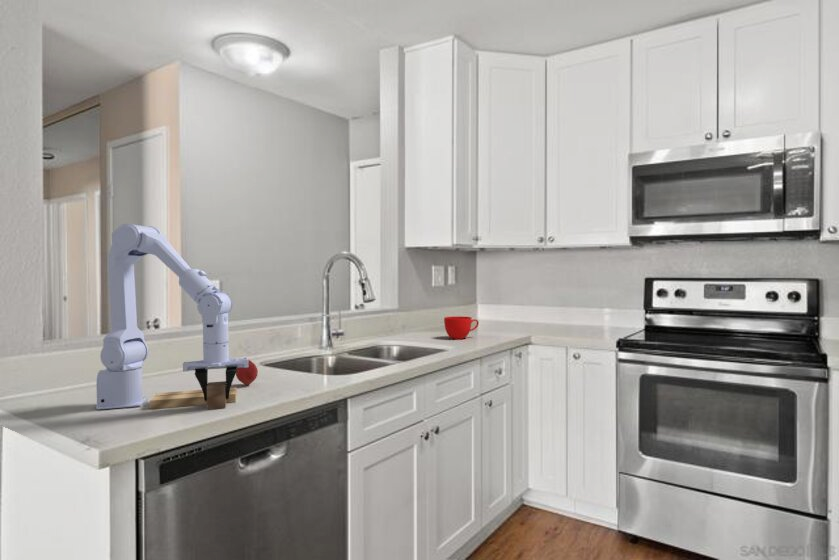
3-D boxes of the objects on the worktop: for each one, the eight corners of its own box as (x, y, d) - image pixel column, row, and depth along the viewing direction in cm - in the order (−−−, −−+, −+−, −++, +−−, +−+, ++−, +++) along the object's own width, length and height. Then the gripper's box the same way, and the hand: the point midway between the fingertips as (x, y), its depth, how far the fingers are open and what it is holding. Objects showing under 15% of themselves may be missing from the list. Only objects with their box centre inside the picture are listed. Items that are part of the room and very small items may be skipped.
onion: (250, 382, 150) (250, 355, 150) (261, 385, 146) (261, 357, 146) (232, 385, 145) (231, 357, 145) (243, 388, 142) (243, 359, 142)
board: (150, 409, 121) (149, 400, 121) (156, 401, 129) (156, 392, 129) (235, 402, 127) (235, 393, 127) (236, 394, 134) (236, 387, 134)
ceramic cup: (483, 339, 240) (483, 318, 240) (449, 341, 235) (449, 319, 235) (473, 336, 252) (473, 315, 252) (440, 337, 248) (440, 317, 248)
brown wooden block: (207, 409, 120) (206, 386, 120) (210, 400, 129) (209, 378, 129) (225, 408, 121) (224, 384, 121) (227, 398, 130) (226, 377, 130)
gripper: (180, 346, 117) (181, 405, 117) (247, 343, 121) (248, 400, 122) (184, 342, 124) (185, 398, 124) (248, 339, 128) (248, 393, 128)
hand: (216, 399), depth 123 cm, fingers closed on brown wooden block, 4 cm apart
